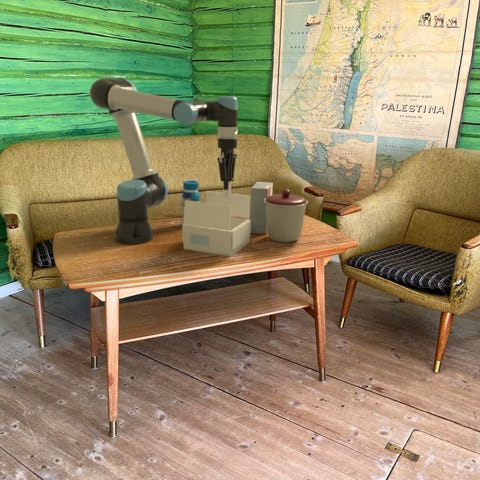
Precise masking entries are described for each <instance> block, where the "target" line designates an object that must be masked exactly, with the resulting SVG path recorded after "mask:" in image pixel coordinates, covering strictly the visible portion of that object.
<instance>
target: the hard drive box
mask: <svg viewBox="0 0 480 480" xmlns="http://www.w3.org/2000/svg"><path fill="white" fill-rule="evenodd" d="M273 187H274V183H273V182H267V181H257V182H255V183H254V184H253V186H252V187H250V212H249V220H251V224H250V234H260V235H261V234H262V235H266V234H268V231H267V220H266V207H265V202H264V199H265V198H267V197H268V196H271V195H273Z"/></svg>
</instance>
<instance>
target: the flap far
mask: <svg viewBox="0 0 480 480" xmlns="http://www.w3.org/2000/svg"><path fill="white" fill-rule="evenodd" d="M205 197H206V198H205V203H212V204H221V205H229V206H232V210H231V217H236V218H243V219H250V199H251V195H249V194H248V195H246V194H240V193H239V194H238V193H231V198H224V197H223V192H220V191H212V190H211V191H210V190H206V191H205Z"/></svg>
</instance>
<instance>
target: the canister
mask: <svg viewBox="0 0 480 480" xmlns="http://www.w3.org/2000/svg"><path fill="white" fill-rule="evenodd" d="M291 193H292V192H291V191H290V190H289V189H287V188H286V189H282V190H281V193H274V194H272V195H271V196H268V197H267V198H265V199H264V202H265V207H266V220H267V235H268V238H269V239H270V240H272V241H275V242H279V243H292V242H296V241H298V240H299V239H300V237H301V235H302V230H303V226H304V220H305V214H306V208H307V205H308V204H309V201H308V200H307V199H306V198H305V197H303V196H301V195H298V194H291Z"/></svg>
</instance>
